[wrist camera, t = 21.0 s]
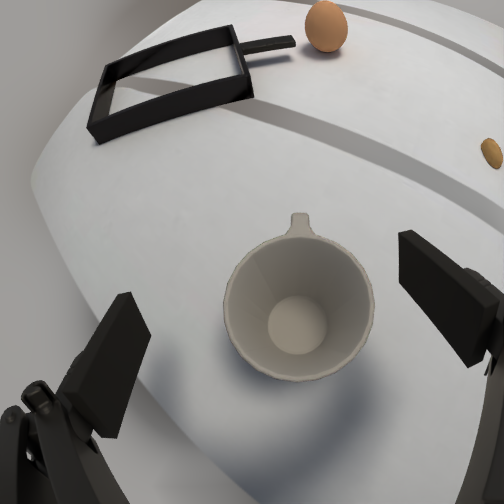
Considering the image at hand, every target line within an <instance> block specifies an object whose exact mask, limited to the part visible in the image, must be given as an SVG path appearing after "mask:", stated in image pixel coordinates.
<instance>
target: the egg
mask: <svg viewBox="0 0 504 504" xmlns="http://www.w3.org/2000/svg"><path fill="white" fill-rule="evenodd" d="M305 32H306V36H307V38H308V40H309V42H310V43H311V44H312V45H313V46H314V47H315V48H316V49H318V50H320V51H323V52H332V51H335V50H337V49H338V48H340V47H341V46H342V45H343V43H344V42H345V40H346V38H347V33H348V26H347V21H346V18H345V16H344V14H343V12H342V11H341V9H340V8H339V7H338V6H337V5H336V4H334V3H333V2H330V1H320V2H318V3H316V4H315V5H313V6H312V7H311V9H310V10H309V12H308V14H307V16H306V20H305Z"/></svg>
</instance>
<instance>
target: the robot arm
mask: <svg viewBox="0 0 504 504" xmlns="http://www.w3.org/2000/svg"><path fill="white" fill-rule="evenodd" d="M398 240H399V283H400V284H401V286H402V287H403V288H404V289H405V290H406V291H407V292H408V294H409V295H410V296H411V297H412V298H413V300H414V301H415V302H416V303H417V304H418V305H419V307H420V308H421V309H422V310H423V311H424V313H425V314H426V315H427V316H428V318H429V319H430V320H431V321H432V322H433V324H434V325H435V326H436V327H437V329H438V330H439V331H440V333H441V334H442V335H443V336H444V338H445V339H446V340H447V341H448V343H449V344H450V345H451V347H452V348H453V349H454V351H455V352H456V353H457V355H458V356H459V357H460V359H461V360H462V361H463V363H464V364H465V365H466V367H467V368H469V367H471V366H473V365H475V364H477V363H479V362H481V361H483V358H484V355H485V352H486V349H487V350H488V351H489V352H490V353H491V358H490V361H489V363H488V366H487V369H486V371H485V374H484V375H485V376H487V373H488V377H487V385H486V391H485V398H484V404H483V409H482V414H481V419H480V424H479V428H478V433H477V437H476V441H475V445H474V448H473V452H472V456H471V459H470V462H469V466H468V469H467V472H466V475H465V478H464V481H463V484H462V487H461V490H460V492H459V495H458V498H457V500H456V503H455V504H504V294H503V293H502V292H501V291H500V290H498V289H497V288H496V287H495V286H494V285H493V284H491V283H490V282H489V281H488V280H486V279H485V278H484V277H483V276H482V275H480V274H479V273H478V272H476V271H474V270H471V269H469V268H464V269H463V268H461V267H460V266H459V265H458V264H456V263H455V262H454V261H453V260H451V259H450V258H449V257H448V256H446V255H445V254H444V253H442V252H441V251H440V250H439V249H437V248H436V247H435V246H433V245H432V244H431V243H429V242H428V241H427V240H425V239H424V238H422V237H421V236H420V235H418V234H417V233H416V232H414V231H413V230H408V231H403V232H399V233H398ZM150 338H151V334H150V332H149V330H148V328H147V326H146V324H145V321H144V319H143V317H142V315H141V313H140V311H139V309H138V307H137V304H136V302H135V300H134V298H133V296H132V293H131V292H127V293H122V294H118V295H117V296H116V298H115V300H114V301H113V303H112V304H111V306H110V308H109V309H108V311H107V312H106V314H105V316H104V317H103V319H102V321H101V322H100V324H99V326H98V327H97V329H96V331H95V332H94V334H93V336H92V337H91V339H90V341H89V342H88V344H87V346H86V348H85V349H84V351H82V352H81V353H80V354H79V355H78V356H77V357H76V358H75V359H74V361H73V363H72V364H71V366H70V368H69V370H68V372H67V375H65V377H64V379H63V381H62V383H61V384H60V386H59V388H58V390H57V392H56V394H54V393H53V392H52V390H51V389H50V388H49V387H48V385H47V384H46V383H45V382H44V381H42V380H39V381H35V382H33V383H31V384H30V385H29V386H27V387H26V389H25V390H24V391H23V393H22V395H21V400H22V402H23V403H24V404H25V405H26V406H27V407H28V409H29V410H30V411H31V412H30V413H26V414H25V413H24V412H23V410H22V409H21V408H20V407H19V406H16V405H15V406H11V407H9V408H7V410H5V411H4V413H3V415H2V416H1V419H0V504H130V503H129V501H128V500H127V498H126V497H125V495H124V493H123V492H122V490H121V489H120V487H119V485H118V483H117V482H116V480H115V478H114V476H113V474H112V473H111V471H110V469H109V467H108V465H107V463H106V461H105V459H104V457H103V455H102V453H101V452H100V449H99V447H98V445H97V443H96V441H95V440H94V439H93V438H92V436H91V434H92V431H93V429H94V430H95V431H96V432H97V433H98V435H99V436H100V437H101V438H114V439H115V438H116V439H117V437H118V433H119V430H120V427H121V424H122V420H123V417H124V414H125V411H126V408H127V404H128V401H129V398H130V395H131V392H132V389H133V386H134V383H135V380H136V378H137V375H138V372H139V369H140V366H141V363H142V360H143V357H144V355H145V352H146V349H147V346H148V344H149V341H150ZM26 452H28V453H29V454H30V455H31V460H29V459H28V458H27V454H26Z"/></svg>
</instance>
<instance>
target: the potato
mask: <svg viewBox="0 0 504 504" xmlns="http://www.w3.org/2000/svg"><path fill="white" fill-rule="evenodd" d="M481 148H482V151H483V154H484V156H485V158H486V160H487V161H488V163H489V164H490V165H491V166H492V167H493V168H496V169H498V168H500V166H501V164H502V162H503V155H502V152H501V149H500V147H499V146H498V144H497V143H496V142H495V141H494V140H493V139H490V138H488V139H485V141H483V143H482V144H481Z"/></svg>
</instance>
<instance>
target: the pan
mask: <svg viewBox="0 0 504 504" xmlns="http://www.w3.org/2000/svg"><path fill="white" fill-rule="evenodd" d="M228 45H233V47H234V50H235V53H236V56H237V59H238V62H239V66H240V69H241V72H242V74H240V75H236V76H231V77H227V78H223V79H218V80H214V81H210V82H207V83H203V84H199V85H196V86H192V87H189V88H185V89H182V90H178V91H175V92H172V93H169V94H166V95H163V96H160V97H157V98H154V99H151V100H148V101H145V102H142V103H139V104H137V105H134V106H131V107H129V108H126V109H124V110H121V111H119V112H116V113H114V114H111V115H109V110H110V105H111V101H112V97H113V93H114V89H115V85H116V81H117V80H120V79H122V78H125V77H127V76H130V75H132V74H135V73H138V72H140V71H143V70H146V69H148V68H151V67H154V66H157V65H160V64H163V63H166V62H169V61H172V60H175V59H179V58H182V57H185V56H189V55H192V54H196V53H200V52H203V51H207V50H211V49H215V48H219V47H224V46H228ZM292 47H296V42H295V40H294V38H293V37H292V35H288V36H280V37H273V38H267V39H261V40H255V41H250V42H244V43H240V44H239V41H238V39H237V36H236V33H235V30H234V28H233V25H232V24H231V25H227V26H222V27H218V28H214V29H209V30H205V31H202V32H198V33H194V34H190V35H187V36H183V37H180V38H177V39H174V40H170V41H167V42H164V43H161V44H158V45H155V46H152V47H150V48H147V49H144V50H141V51H139V52H136V53H134V54H131V55H128V56H126V57H124V58H121V59H119V60H117V61H114V62H112V63H109V64H107V65H106V66H105V68H104V70H103V73H102V76H101V79H100V82H99V85H98V88H97V92H96V95H95V98H94V102H93V105H92V108H91V112H90V116H89V119H88V123H87V127H86V128H87V129H88V131H89V132H90V133H91V135H92V136H93V137H94V138H95V140H96V141H97V142H98V144H99V145H100V144H102V143H105V142H107V141H110V140H112V139H115V138H117V137H120V136H123V135H125V134H128V133H131V132H133V131H136V130H139V129H142V128H145V127H148V126H151V125H154V124H157V123H160V122H163V121H166V120H169V119H172V118H176V117H179V116H182V115H186V114H189V113H193V112H196V111H200V110H204V109H207V108H211V107H215V106H219V105H223V104H227V103H232V102H236V101H240V100H245V99H250V98H254V93H253V87H252V82H251V76H250V73H249V70H248V67H247V64H246V61H245V58H244V56H243V55H248V54H254V53H259V52H265V51H271V50H277V49H284V48H292ZM108 115H109V116H108Z"/></svg>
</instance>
